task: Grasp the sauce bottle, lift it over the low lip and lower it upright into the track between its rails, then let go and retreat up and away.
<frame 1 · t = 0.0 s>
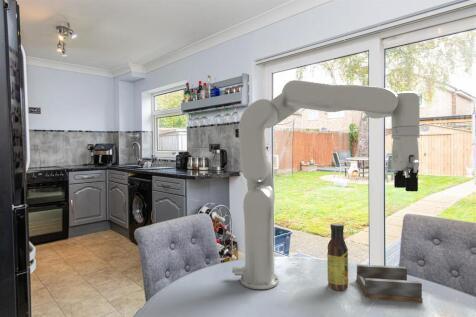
hand: (405, 189, 93), 31 cm above the table, tool pointing down, fingers open, 9 cm apart
sauce bottle: (337, 287, 97), on the table
bottle track: (386, 289, 95), on the table
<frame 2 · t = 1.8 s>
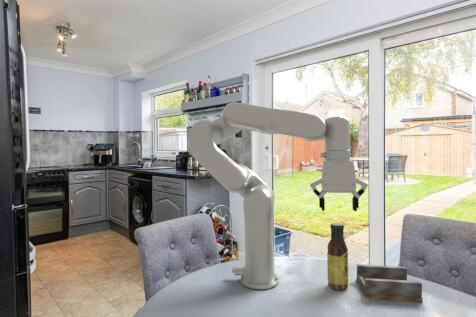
hand: (338, 210, 97), 24 cm above the table, tool pointing down, fingers open, 9 cm apart
nothing on the table moved.
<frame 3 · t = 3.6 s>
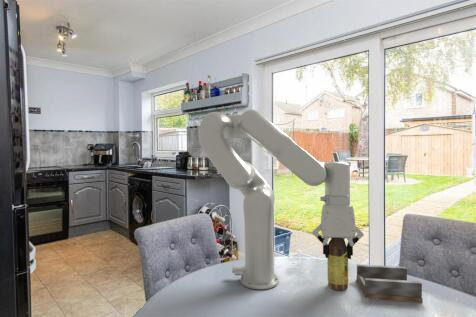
hand: (337, 256, 97), 10 cm above the table, tool pointing down, fingers closed on sauce bottle, 6 cm apart
sauce bottle: (337, 287, 97), on the table, touching gripper
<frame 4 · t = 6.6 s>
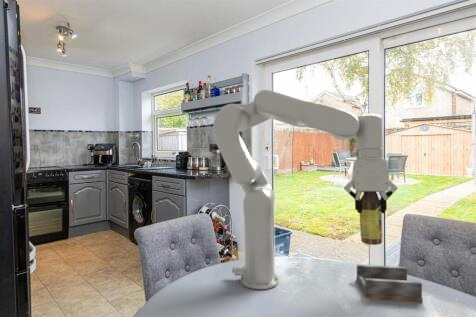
hand: (370, 211, 95), 24 cm above the table, tool pointing down, fingers closed on sauce bottle, 6 cm apart
sauce bottle: (371, 243, 95), point 14 cm above the table, touching gripper
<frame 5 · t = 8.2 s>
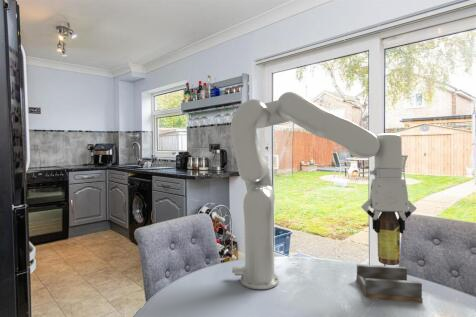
hand: (388, 231, 94), 18 cm above the table, tool pointing down, fingers closed on sauce bottle, 6 cm apart
sauce bottle: (388, 263, 94), point 8 cm above the table, touching gripper
when the fingers open (12 cm above the table, at t = 9.7 s): sauce bottle drops 1 cm, resting on bottle track.
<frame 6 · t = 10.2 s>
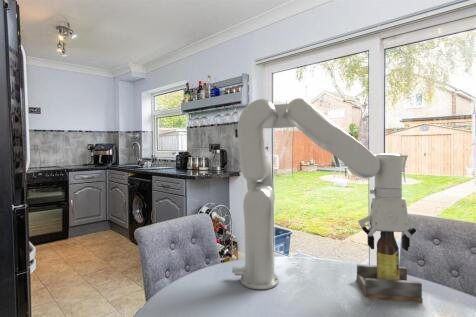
hand: (388, 248, 94), 13 cm above the table, tool pointing down, fingers open, 9 cm apart
sauce bottle: (387, 286, 94), point 1 cm above the table, touching bottle track
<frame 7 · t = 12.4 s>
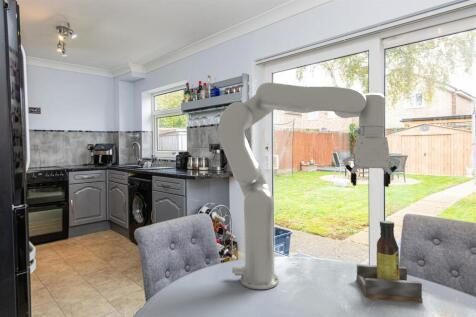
hand: (370, 185, 99), 32 cm above the table, tool pointing down, fingers open, 9 cm apart
nothing on the table moved.
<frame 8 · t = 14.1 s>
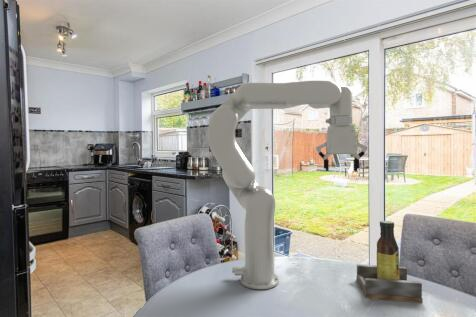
hand: (341, 170, 108), 36 cm above the table, tool pointing down, fingers open, 9 cm apart
nothing on the table moved.
at the end: sauce bottle inside the target area on the bottle track (0.3 cm from its centre), point 1.0 cm above the bottle track's base; sauce bottle tilted 0°; the gripper is holding nothing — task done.
